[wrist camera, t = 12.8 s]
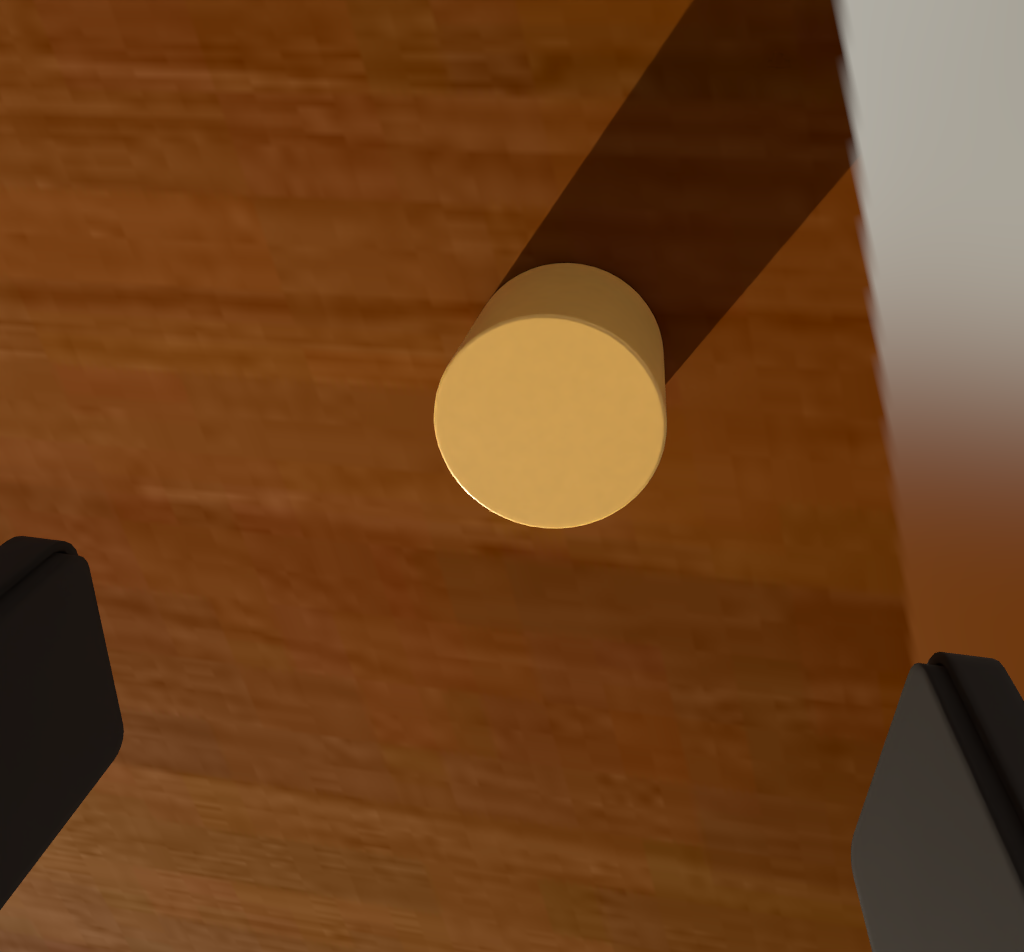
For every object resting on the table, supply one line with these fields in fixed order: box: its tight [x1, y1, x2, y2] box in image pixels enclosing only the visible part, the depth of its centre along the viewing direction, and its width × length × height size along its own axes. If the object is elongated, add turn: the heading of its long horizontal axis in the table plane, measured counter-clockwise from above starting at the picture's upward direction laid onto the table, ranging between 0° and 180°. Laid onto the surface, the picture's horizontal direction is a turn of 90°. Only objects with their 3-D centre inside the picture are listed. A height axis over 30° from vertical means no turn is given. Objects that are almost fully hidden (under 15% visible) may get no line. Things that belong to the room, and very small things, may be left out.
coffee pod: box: [434, 263, 667, 528], centre depth 17 cm, size 4×4×4 cm
